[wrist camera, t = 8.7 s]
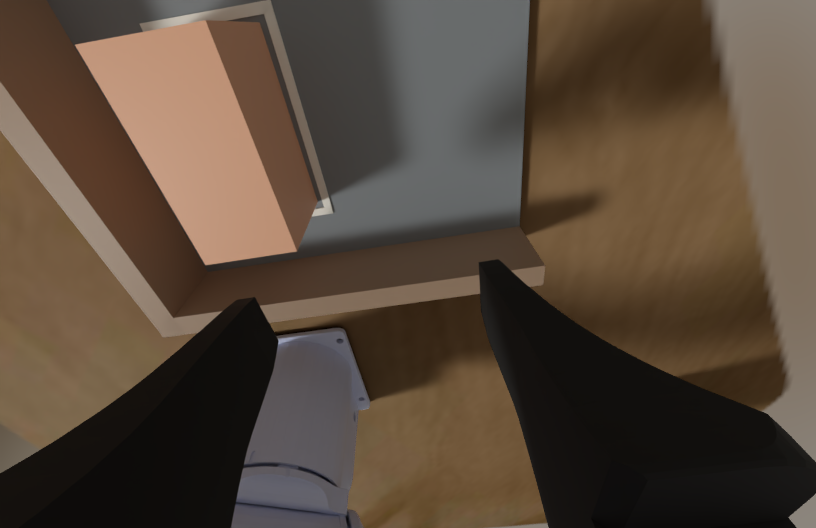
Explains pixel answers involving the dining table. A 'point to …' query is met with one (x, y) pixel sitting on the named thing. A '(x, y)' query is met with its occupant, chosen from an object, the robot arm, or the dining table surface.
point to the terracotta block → (211, 133)
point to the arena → (320, 144)
